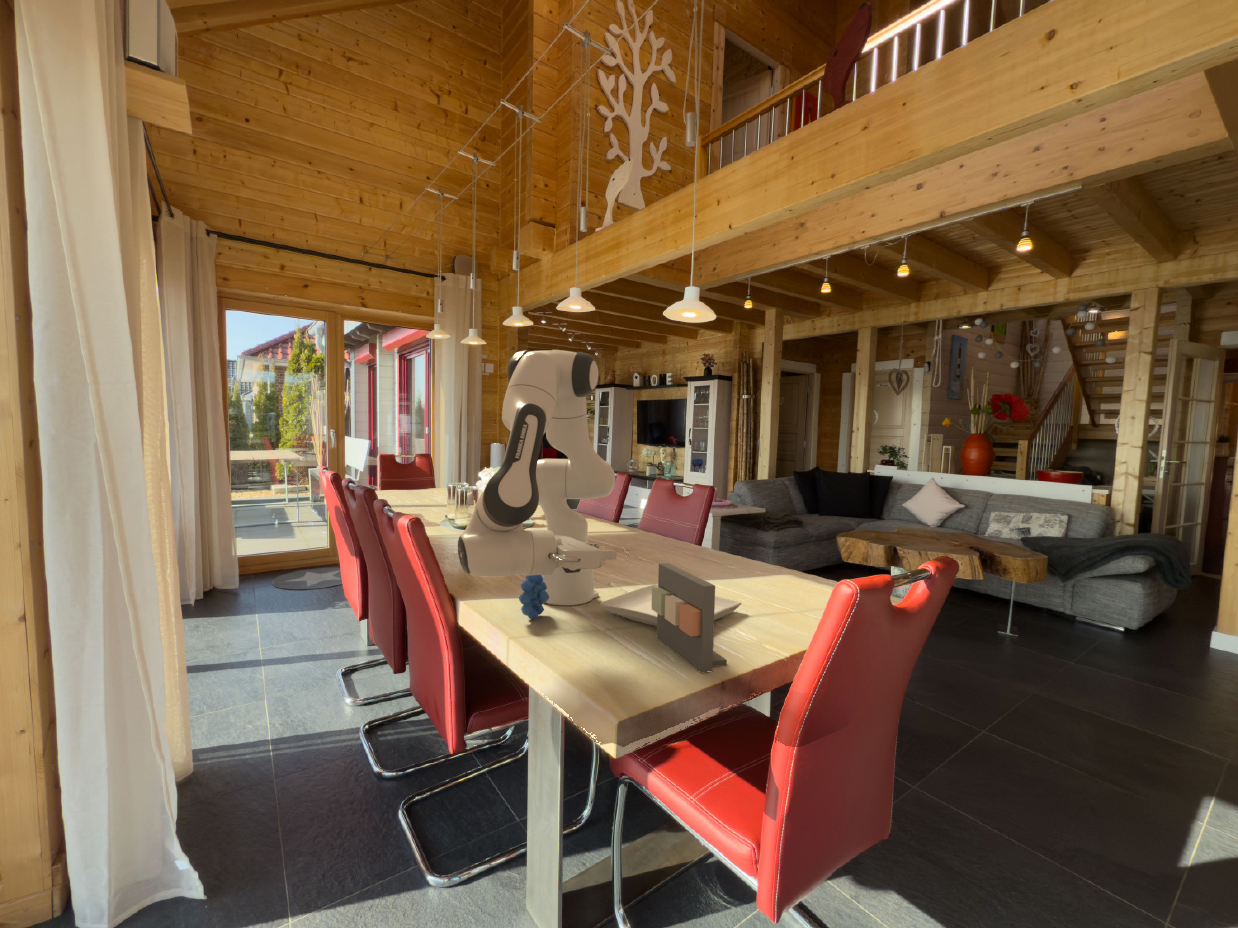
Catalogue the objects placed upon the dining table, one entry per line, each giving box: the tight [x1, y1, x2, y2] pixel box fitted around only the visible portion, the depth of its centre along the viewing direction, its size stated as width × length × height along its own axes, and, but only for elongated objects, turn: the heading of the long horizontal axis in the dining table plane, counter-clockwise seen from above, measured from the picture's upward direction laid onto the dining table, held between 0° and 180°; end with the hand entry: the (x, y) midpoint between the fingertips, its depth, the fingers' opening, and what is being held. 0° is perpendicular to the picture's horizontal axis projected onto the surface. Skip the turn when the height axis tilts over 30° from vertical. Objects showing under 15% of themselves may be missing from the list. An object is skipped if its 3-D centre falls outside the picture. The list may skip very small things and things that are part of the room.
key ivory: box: [665, 595, 685, 626], centre depth 116 cm, size 5×4×5 cm
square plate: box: [599, 583, 742, 627], centre depth 143 cm, size 27×27×4 cm
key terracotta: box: [679, 604, 701, 636], centre depth 110 cm, size 5×4×5 cm
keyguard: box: [656, 562, 728, 674], centre depth 118 cm, size 20×7×17 cm, turn 22°
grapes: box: [518, 575, 549, 620], centre depth 136 cm, size 12×7×12 cm, turn 161°
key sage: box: [652, 587, 670, 616], centre depth 122 cm, size 5×4×5 cm
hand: (606, 550), depth 117 cm, fingers open, 8 cm apart
